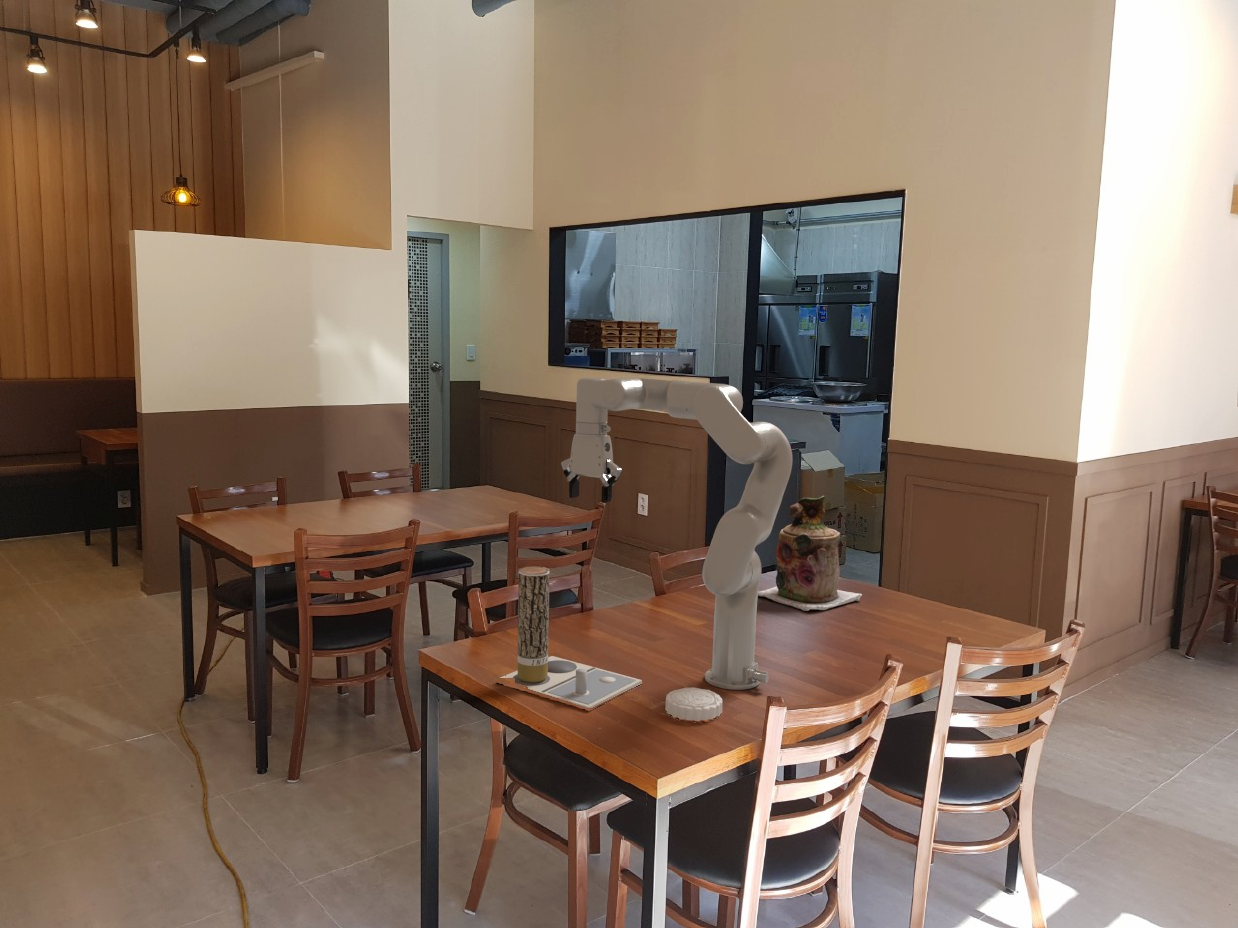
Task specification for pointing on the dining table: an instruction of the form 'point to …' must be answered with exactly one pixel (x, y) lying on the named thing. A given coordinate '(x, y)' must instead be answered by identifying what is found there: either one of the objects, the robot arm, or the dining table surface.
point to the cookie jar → (808, 561)
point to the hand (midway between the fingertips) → (590, 499)
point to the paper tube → (533, 624)
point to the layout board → (569, 675)
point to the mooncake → (693, 704)
